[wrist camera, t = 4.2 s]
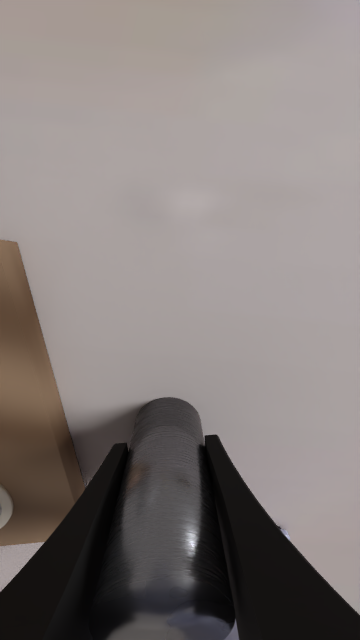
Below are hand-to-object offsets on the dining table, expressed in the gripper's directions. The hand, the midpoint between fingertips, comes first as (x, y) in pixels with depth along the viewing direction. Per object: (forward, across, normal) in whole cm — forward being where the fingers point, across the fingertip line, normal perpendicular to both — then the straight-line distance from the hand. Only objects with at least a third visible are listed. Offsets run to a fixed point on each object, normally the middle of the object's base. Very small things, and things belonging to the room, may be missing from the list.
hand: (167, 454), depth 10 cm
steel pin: (+2, 0, 0) cm, 2 cm away
